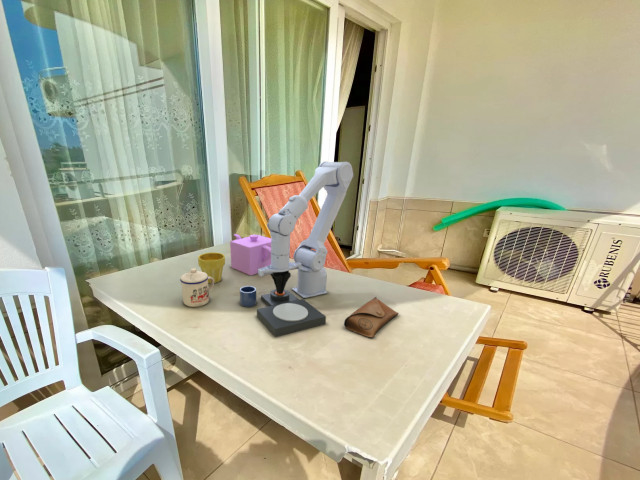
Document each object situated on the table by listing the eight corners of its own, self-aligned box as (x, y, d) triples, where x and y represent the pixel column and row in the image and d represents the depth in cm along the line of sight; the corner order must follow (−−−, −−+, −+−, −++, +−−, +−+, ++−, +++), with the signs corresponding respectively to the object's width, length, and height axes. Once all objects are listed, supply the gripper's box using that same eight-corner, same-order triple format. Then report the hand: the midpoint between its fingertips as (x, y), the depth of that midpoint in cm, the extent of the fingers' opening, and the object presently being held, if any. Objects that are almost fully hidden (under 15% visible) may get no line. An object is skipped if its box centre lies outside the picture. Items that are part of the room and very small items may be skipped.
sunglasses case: (374, 338, 78) (363, 314, 78) (350, 340, 83) (340, 318, 83) (400, 312, 89) (391, 291, 90) (378, 316, 95) (369, 296, 95)
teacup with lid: (191, 310, 96) (188, 276, 92) (177, 301, 103) (174, 268, 98) (222, 298, 103) (220, 266, 99) (207, 290, 110) (204, 260, 106)
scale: (302, 305, 96) (302, 297, 95) (325, 324, 86) (326, 315, 85) (256, 316, 91) (256, 307, 90) (275, 337, 81) (275, 327, 80)
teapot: (248, 255, 145) (247, 227, 140) (285, 269, 126) (286, 237, 122) (222, 263, 137) (220, 232, 132) (258, 279, 118) (257, 244, 113)
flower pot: (231, 277, 120) (230, 254, 117) (215, 287, 112) (214, 262, 109) (210, 273, 126) (209, 250, 122) (194, 281, 117) (192, 258, 114)
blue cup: (252, 298, 103) (252, 284, 101) (259, 305, 98) (258, 291, 96) (237, 301, 101) (237, 287, 99) (243, 308, 96) (243, 294, 94)
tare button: (281, 293, 101) (281, 289, 101) (286, 297, 99) (286, 293, 98) (273, 295, 100) (273, 291, 100) (277, 299, 98) (277, 295, 97)
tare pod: (287, 293, 105) (287, 285, 104) (299, 303, 98) (299, 294, 97) (260, 298, 102) (260, 290, 101) (271, 309, 95) (271, 300, 94)
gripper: (294, 246, 100) (292, 284, 105) (253, 252, 95) (254, 291, 100) (305, 252, 94) (304, 292, 99) (263, 259, 89) (263, 300, 94)
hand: (279, 292), depth 99 cm, fingers closed, pressing on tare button
